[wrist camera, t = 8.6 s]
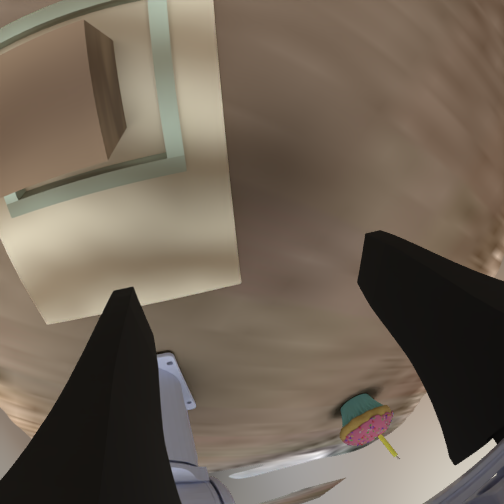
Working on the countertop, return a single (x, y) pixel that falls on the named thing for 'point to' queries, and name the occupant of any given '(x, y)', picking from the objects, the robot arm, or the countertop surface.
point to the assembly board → (133, 171)
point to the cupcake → (365, 421)
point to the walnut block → (58, 106)
